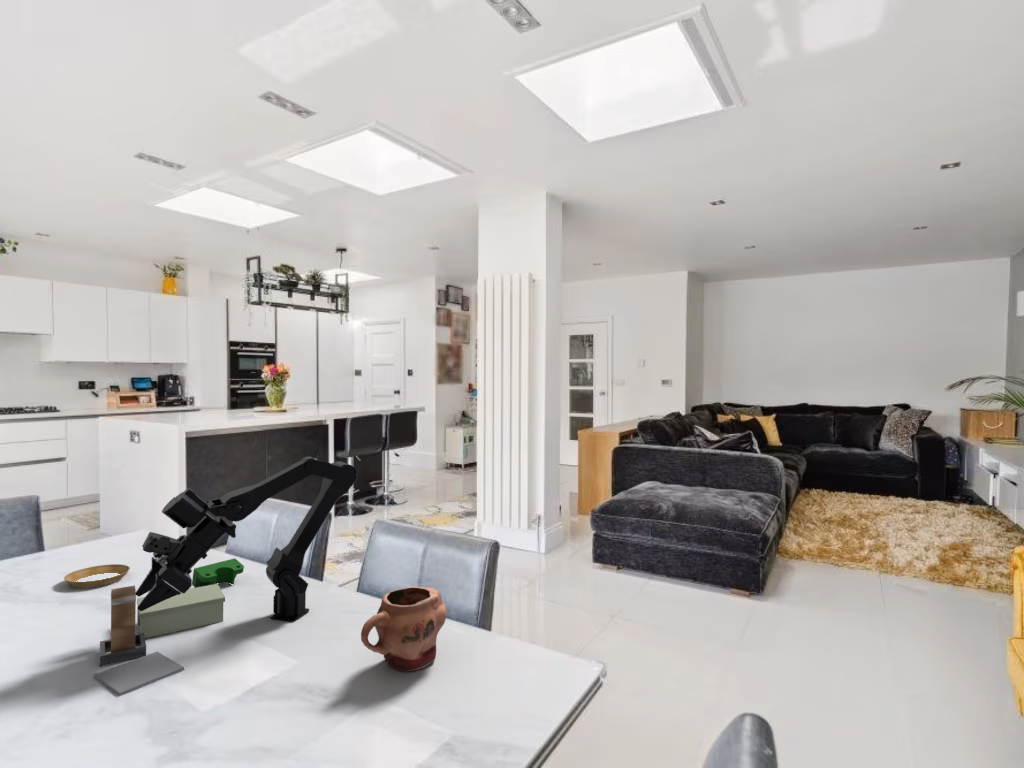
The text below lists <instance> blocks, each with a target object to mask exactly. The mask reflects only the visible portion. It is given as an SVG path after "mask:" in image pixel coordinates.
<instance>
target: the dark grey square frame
mask: <svg viewBox="0 0 1024 768" xmlns="http://www.w3.org/2000/svg"><path fill="white" fill-rule="evenodd" d="M106 652H107V653H106ZM146 655H147V642H146V638H145V635H144V632H143V633H140V632H139V633H135V647H133V648H128V649H124V650H119V651H115V652H111V638H110V639H107V640H101V641H99V667H104V666H110V665H113V664H117V663H118V664H119V663H122V662H126V661H132V660H135V659H138V658H141V657H143V656H146Z"/></svg>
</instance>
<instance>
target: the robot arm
mask: <svg viewBox="0 0 1024 768" xmlns="http://www.w3.org/2000/svg"><path fill="white" fill-rule="evenodd" d="M313 475H314V476H317V477H321V478H322V483H321V487H320V491H319V493H318V495H317V496H316V498H315V499H314V501H313V503H312V505H311V506H310V508H309V510H308V511H307V512H306V515H305V516H304V518H303V520H302V521H301V523H300V525H299V526H298V528H297V529H296V531H295V532H294V534H293V536H292V537H291V539H290V540H289V542H288V543H287V544H286V546H284V547H283V548H281V549H280V548H278V547H276V548H275V549H274V550H273V552H272V555H271V557H270V558H269V559H268V560H267V561H266V564H267V565H266V567H265V568H266V569H265V573H266V577H267V578H268V580H270V582H271V583H272V584H273V586H274V587H276V588H277V589H275V590H274V595H273V605H272V606H273V607H272V608H273V614H272V615H270V619H271V620H278V621H279V620H280V621H285V622H286V621H288V622H296V621H297V620H299V618H301V617H303V616H304V615H305V614H307V613H309V612H310V608H307V607H306V600H307V599H306V598H307V597H306V596H307V595H306V594H307V589H308V586H309V583H308V582H307V581H306V580H305V579H304V578H303V577H302V576H301V575H300V573H301V571H302V569H303V564H304V560H305V554H306V552H307V551H308V549H309V548H310V546H311V545H312V542H313V541H314V539H315V538H316V536H317V534H318V532H319V531H320V529H321V527H322V526H323V524H324V523H325V521H326V519H327V518H328V516H329V515H330V512H331V511H332V509H333V507H334V506H335V504H336V503H337V501H338V500H339V499H340V498H342V497H343V496H344V495H345V494H346V493H347V492H349V491H350V489H351V488H352V486H353V485H354V484H356V482H357V479H358V472H357V469H356V468H355V466H353V465H352V464H348V463H346V462H343V461H335V462H329V461H328V462H327V461H324V460H320V459H317V458H314V457H312V456H304V457H302V458H301V459H300V460H298V461H297V462H295V463H294V464H291V465H290V466H287V467H286V468H284V469H282V470H280V471H278V472H277V473H275V474H273V475H270V476H269V477H267V478H265V479H263V480H261V481H259V482H258V483H255V484H253V485H248V486H244V487H239V488H238V489H234V490H232V491H229V492H227V493H224V494H223V495H222V496H221V497H220V498H216V499H211V500H207V501H204V500H203V499H202V498H201V497H199V496H198V495H197V494H196V493H195V492H194V491H193V490H192V489H191V488H189V487H188V488H186V489H185V490H183V491H181V492H180V493H178V494H177V495H176V496H174V497H173V498H172V499H170V500H169V502H167V504H166V505H164V507H163V508H162V510H161V513H162V514H163V515H165V516H166V517H168V518H169V519H170V520H171V521H172V522H174V523H175V524H176V525H178V526H179V527H180V528H182V529H186V528H190V529H191V528H192V529H191V530H190V531H189V532H188V533H187V534H183V535H180V536H179V537H178V538H174V537H172V536H171V537H170V536H168V535H164V534H161V533H157V532H152V531H149V533H148V535H147V536H146V538H145V540H144V542H143V543H142V546H141V547H142V550H143V551H144V552H145V553H149V554H151V553H152V555H153V556H151V559H150V560H151V569H149V572H148V573H147V574H146V576H145V578H144V579H143V581H142V582H141V584H140V585H139V587H138V588H137V590H136V597H137V598H141V597H142V596H143V595H145V594H146V595H145V596H144V597H145V598H144V599H143V600H142V602H141V603H140V604H139V606H138V605H137V608H136V610H137V609H138V610H140V611H143V610H145V609H147V608H149V607H151V606H154V605H156V604H158V603H160V602H162V601H164V600H166V599H169V598H171V597H173V596H176V595H180V594H181V592H182V593H185V592H186V591H187V590H188V589H191V587H192V586H193V585H192V579H193V578H192V577H191V575H190V574H191V573H192V572H193V570H192V568H194V566H195V565H196V564H197V563H198V562H199V561H201V559H203V560H205V559H206V558H207V557H208V554H207V553H208V552H209V551H210V550H211V549H212V548H213V547H214V546H215V545H216V544H217V543H218V542H219V541H220V540H221V539H222V538H223V537H224V536H225V535H226V534H227V535H228V536H230V537H231V538H233V539H235V538H236V536H237V535H236V530H237V529H236V528H237V525H236V524H235V523H229V522H227V521H226V520H228V521H230V522H237V523H238V522H241V521H242V520H244V519H246V518H247V517H248V516H251V515H252V513H253V512H255V511H256V510H257V509H258V508H259V507H260V506H261V505H262V504H263V503H264V502H266V501H267V500H268V499H270V498H272V497H273V496H274V497H275V496H276V495H277V494H279V493H281V492H283V491H285V490H286V489H288V488H290V487H291V486H293V485H296V484H297V483H299V482H300V481H301V482H302V480H304V479H306V478H308V477H310V476H313ZM207 512H209V513H210V514H211V515H210V514H209V513H207ZM212 515H213V516H214V517H212ZM223 517H224V518H225V519H226V520H224V519H223Z"/></svg>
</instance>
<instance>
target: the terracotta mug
mask: <svg viewBox="0 0 1024 768" xmlns="http://www.w3.org/2000/svg"><path fill="white" fill-rule="evenodd" d="M447 610H448V607H447V605H446V604H445V603H444V602H443V599H442V595H441V592H440V591H439V590H436V589H435V588H432V587H421V586H409V587H406V588H399V589H395V590H391V591H389V592H387V593H386V594H385V595H383V597H382V599H381V604H380V606H379V608H378V610H377V612H376V614H373V615H372V616H371V617H370V618H368V619H367V620H366V621H365V623H364V624H363V626H362V629H361V632H360V640H361V642H362V643H363V646H364V647H366V648H367V649H368V650H370V651H372V652H373V653H377V654H380V655H383V658H384V661H385V662H386V664H387V666H388V667H389V668H392V669H393V670H396V671H400V672H412V671H416V670H419V669H422V668H425V667H426V666H429V665H430V664H431V663H433V662H434V661H435V660H436V656H437V637H438V634H439V633H440V630H441V629H442V628H443V626H444V624H445V622H446V619H447ZM373 628H375V630H376V633H377V637H378V640H377V642H376V643H375V644H372V643H370V641H369V636H370V635H369V634H370V633H371V631H372V630H373Z"/></svg>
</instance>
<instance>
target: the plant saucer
mask: <svg viewBox="0 0 1024 768" xmlns="http://www.w3.org/2000/svg"><path fill="white" fill-rule="evenodd" d="M130 569H131V567H130V566H129V565H126V564H120V563H118V564H117V563H115V564H113V563H112V564H111V563H110V564H101V565H94V566H89V567H85V568H81V569H78V570H74V571H72V572H69V573H67V574H66V575H65V576H64V577H63V580H64V581H65V582H66V583H68V584H69V585H70V586H71V587H74V588H77V587H78V589H92V588H91V587H93V588H98V587H97V586H100V587H103V586H102V585H105V586H108V585H107V584H109V585H111V584H110V583H112V584H114V583H113V582H115V583H117V582H119V581H121V580H122V579H123V578H124V577H125V576H126V575H127V574H128V572H129V571H130ZM104 573H118V574H120V575H117V576H114V577H111V578H106V579H102V580H95V581H86V582H78V581H77V580H79V579H81V578H85V577H88V576H92V575H97V574H104ZM118 580H119V581H118ZM76 581H77V582H76ZM116 581H117V582H116Z"/></svg>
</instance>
